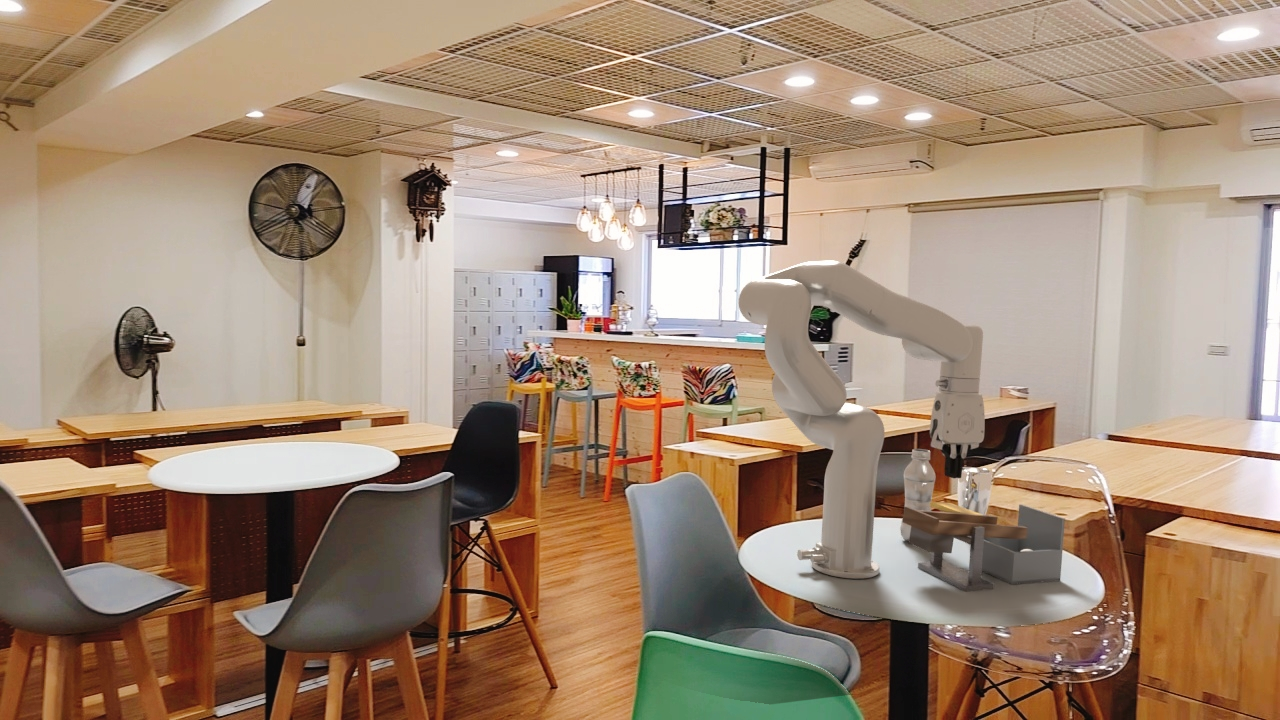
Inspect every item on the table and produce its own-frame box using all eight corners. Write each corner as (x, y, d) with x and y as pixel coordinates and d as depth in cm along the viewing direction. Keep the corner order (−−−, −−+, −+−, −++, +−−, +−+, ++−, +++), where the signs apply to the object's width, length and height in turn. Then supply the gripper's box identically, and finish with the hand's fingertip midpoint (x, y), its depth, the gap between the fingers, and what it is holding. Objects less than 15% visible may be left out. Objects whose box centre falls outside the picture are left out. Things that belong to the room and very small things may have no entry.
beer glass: (952, 536, 194) (956, 470, 193) (956, 530, 201) (961, 465, 200) (985, 542, 191) (990, 474, 190) (989, 535, 197) (993, 469, 196)
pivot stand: (965, 591, 157) (970, 530, 156) (917, 567, 170) (921, 511, 170) (993, 589, 159) (997, 528, 158) (943, 565, 172) (947, 509, 171)
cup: (1011, 584, 162) (1016, 521, 161) (971, 566, 173) (975, 506, 172) (1060, 580, 166) (1064, 518, 165) (1017, 563, 176) (1021, 504, 175)
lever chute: (929, 554, 157) (934, 518, 157) (869, 526, 175) (874, 494, 175) (1022, 559, 164) (1028, 525, 164) (956, 532, 182) (960, 501, 182)
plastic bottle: (928, 548, 185) (934, 454, 183) (896, 542, 188) (901, 450, 186) (934, 541, 190) (940, 450, 189) (903, 536, 193) (908, 446, 192)
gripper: (939, 387, 169) (933, 481, 170) (1003, 388, 174) (996, 480, 175) (915, 383, 176) (909, 473, 177) (977, 384, 181) (971, 472, 182)
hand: (952, 476), depth 176 cm, fingers closed
